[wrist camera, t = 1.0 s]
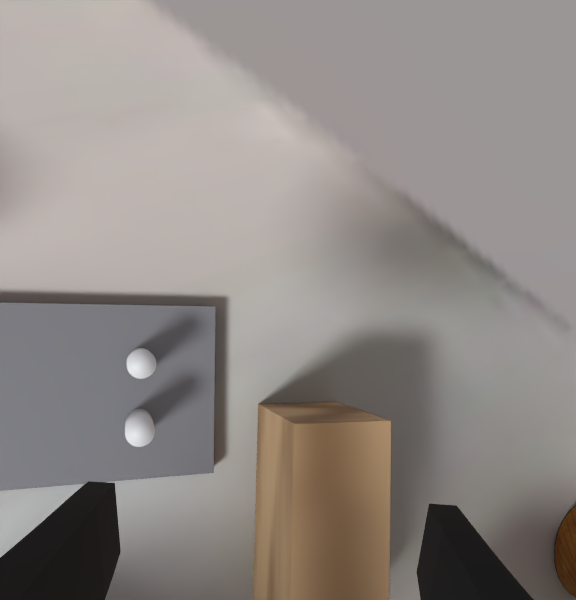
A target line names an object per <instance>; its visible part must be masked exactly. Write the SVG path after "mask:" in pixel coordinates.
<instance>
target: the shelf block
mask: <svg viewBox="0 0 576 600" xmlns="http://www.w3.org/2000/svg"><path fill="white" fill-rule="evenodd" d="M390 481H391V421H390V420H387V419H384V418H382V417H379V416H376V415H373V414H370V413H367V412H364V411H361V410H358V409H355V408H352V407H350V406H347V405H344V404H341V403H338V402H320V403H276V404H258V432H257V471H256V510H255V549H254V588H253V600H390Z"/></svg>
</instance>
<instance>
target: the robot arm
mask: <svg viewBox="0 0 576 600" xmlns="http://www.w3.org/2000/svg"><path fill="white" fill-rule="evenodd" d="M119 555H120V541H119V529H118V517H117V505H116V494H115V483H106V482H90V481H88V482H87V483H86V484H85V485H84V486H82V487H81V488H80V489H79V490H78V491H77V492H75V493H74V494H73V495H72V496H71V497H70V498H69V499H68V500H66V501H65V502H64V503H63V504H62V505H61V506H60V507H59V508H57V509H56V510H55V511H54V512H53V513H52V514H51V515H50V516H48V517H47V518H46V519H45V520H44V521H43V522H42V523H41V524H39V525H38V526H37V527H36V528H35V529H34V530H32V531H31V532H30V533H29V534H28V535H27V536H25V537H24V538H23V539H22V540H21V541H20V542H18V543H17V544H16V545H15V546H14V547H13V548H11V549H10V550H9V551H8V552H7V553H5V554H4V555H3V556H2V557H1V558H0V600H105V597H106V595H107V592H108V589H109V586H110V583H111V580H112V577H113V574H114V571H115V567H116V564H117V561H118V558H119ZM417 577H418V583H419V590H420V597H421V600H533V599H532V598H531V596H530V595H529V594H528V593H527V592H526V591H525V589H524V588H523V587H522V586H521V585H520V584H519V582H518V581H517V580H516V579H515V578H514V577H513V575H512V574H511V573H510V572H509V571H508V570H507V568H506V567H505V566H504V565H503V563H502V562H501V561H500V560H499V559H498V557H497V556H496V555H495V554H494V552H493V551H492V550H491V549H490V547H489V546H488V545H487V544H486V542H485V541H484V540H483V539H482V537H481V536H480V535H479V534H478V532H477V531H476V530H475V528H474V527H473V526H472V525H471V523H470V522H469V521H468V519H467V518H466V517H465V516H464V514H463V513H462V512H461V511H460V509H459V508H458V507H457V506H454V505H439V504H429V508H428V513H427V519H426V524H425V530H424V535H423V541H422V546H421V552H420V557H419V563H418V568H417Z"/></svg>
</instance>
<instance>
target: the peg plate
mask: <svg viewBox="0 0 576 600" xmlns="http://www.w3.org/2000/svg"><path fill="white" fill-rule="evenodd" d="M215 309H216V306H163V305H108V304H53V303H0V491H2V490H14V489H26V488H37V487H49V486H61V485H73V484H85V483H87V482H88V481H90V482H108V481H120V480H132V479H144V478H156V477H168V476H179V475H191V474H203V473H214V392H215Z"/></svg>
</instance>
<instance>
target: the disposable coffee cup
mask: <svg viewBox="0 0 576 600" xmlns="http://www.w3.org/2000/svg"><path fill="white" fill-rule="evenodd" d="M555 563H556V569H557V572H558V576H559V578H560V580H561V582H562V584H563V586H564V587H565V588H566V589H567V591H568V592H569V593H570V594H572V595H573V596H574V597H576V506H575V507H574V508H573V509H572V510H571V511H570V512H569V513H568V514H567V516H566V517H565V519H564V520H563V522H562V524H561V526H560V528H559V532H558V535H557V539H556V545H555Z"/></svg>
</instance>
